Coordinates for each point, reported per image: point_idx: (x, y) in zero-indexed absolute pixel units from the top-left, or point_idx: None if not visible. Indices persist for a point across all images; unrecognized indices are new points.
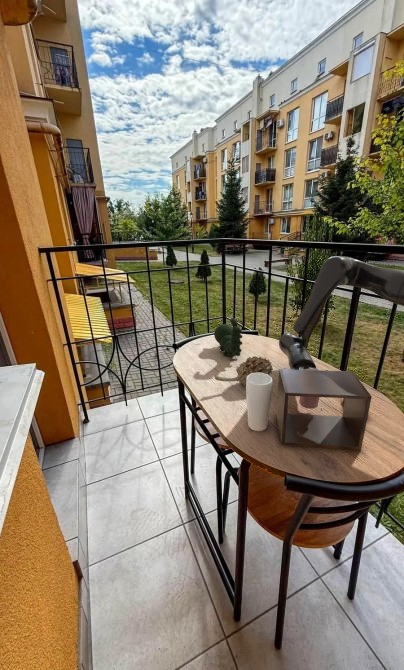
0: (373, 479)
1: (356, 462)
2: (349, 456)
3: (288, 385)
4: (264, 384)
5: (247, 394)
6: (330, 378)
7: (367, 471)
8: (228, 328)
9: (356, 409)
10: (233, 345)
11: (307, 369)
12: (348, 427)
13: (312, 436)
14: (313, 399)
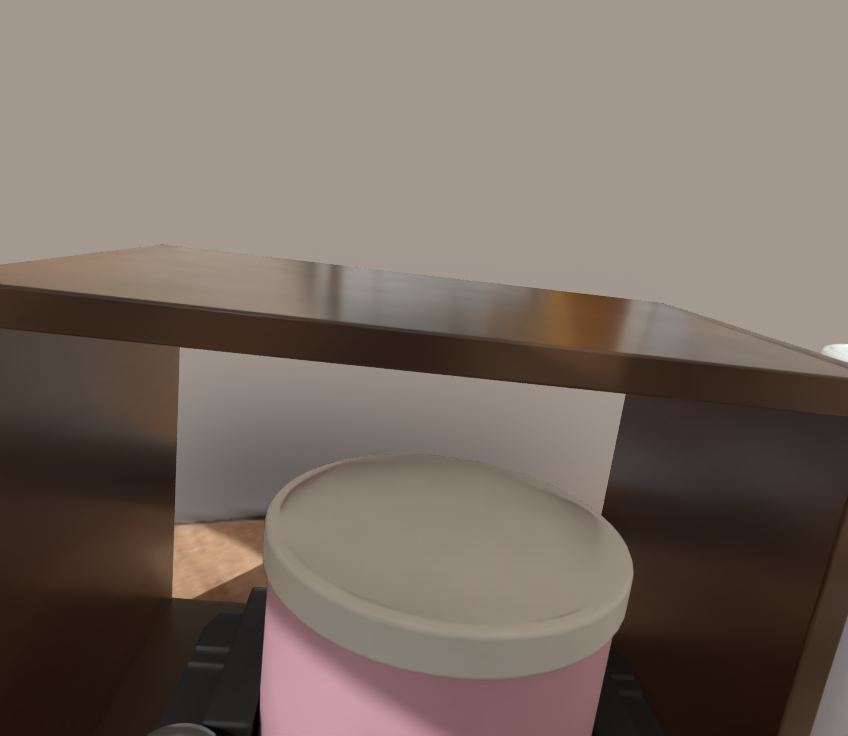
0: (220, 522)
1: (234, 570)
2: (245, 593)
3: (672, 313)
4: (845, 345)
5: None
6: (327, 289)
7: (217, 542)
8: None
9: (134, 460)
10: None
11: (528, 609)
12: (94, 725)
13: None
14: None
